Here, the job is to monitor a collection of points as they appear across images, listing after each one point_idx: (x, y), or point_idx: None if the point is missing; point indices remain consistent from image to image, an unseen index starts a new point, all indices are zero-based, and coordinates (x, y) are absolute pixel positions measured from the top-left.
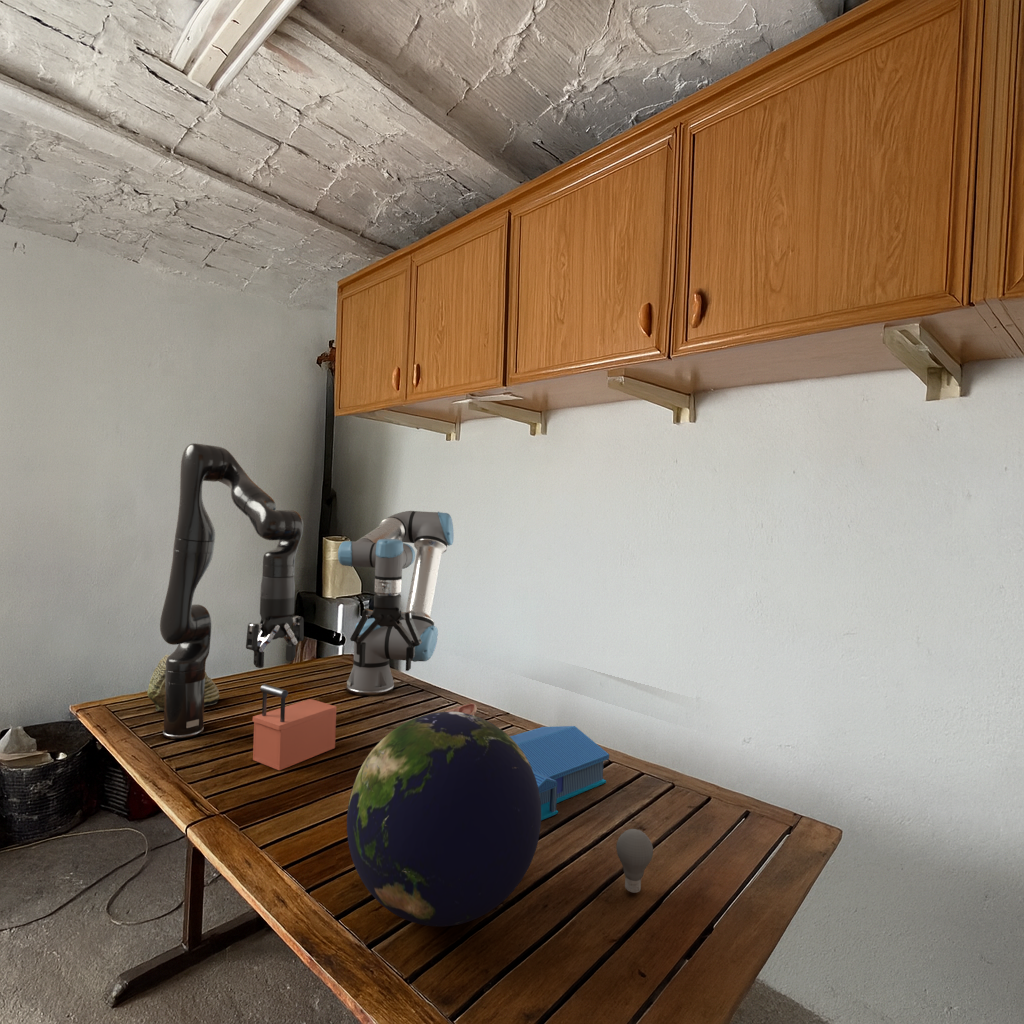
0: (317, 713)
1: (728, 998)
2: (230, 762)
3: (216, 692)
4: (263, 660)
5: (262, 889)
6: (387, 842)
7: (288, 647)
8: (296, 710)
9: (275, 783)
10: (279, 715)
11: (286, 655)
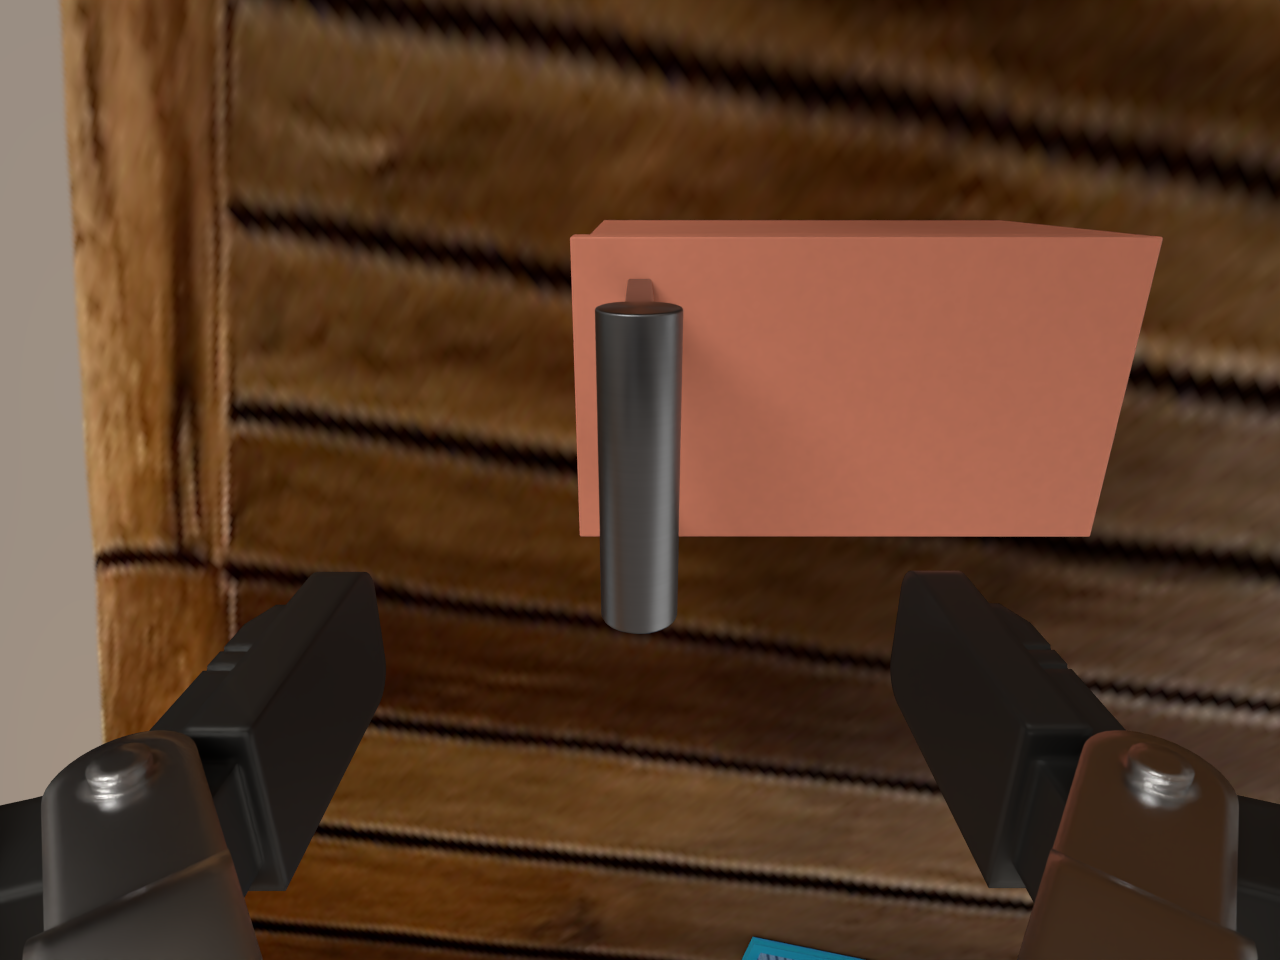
0: (907, 534)
1: None
2: (507, 144)
3: None
4: (340, 765)
5: None
6: None
7: (988, 754)
8: (866, 386)
9: (514, 526)
10: (713, 378)
11: (932, 608)
